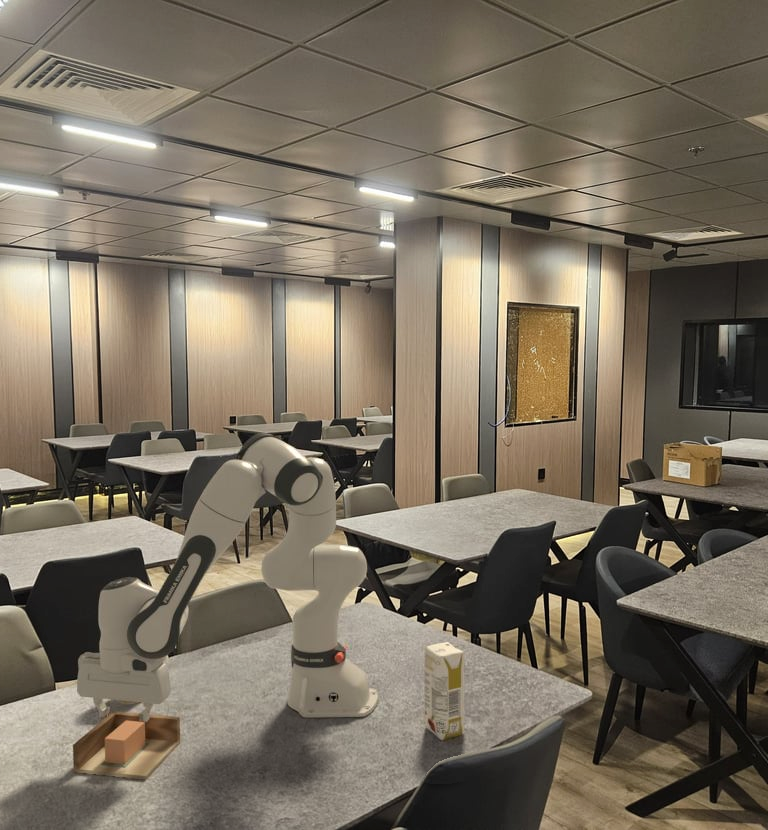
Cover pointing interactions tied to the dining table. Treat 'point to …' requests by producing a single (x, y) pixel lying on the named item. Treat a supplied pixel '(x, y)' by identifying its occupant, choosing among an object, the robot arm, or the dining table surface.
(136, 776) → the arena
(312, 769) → the dining table surface
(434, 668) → the juice carton
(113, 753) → the brick
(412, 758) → the dining table surface
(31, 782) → the dining table surface
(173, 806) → the dining table surface
